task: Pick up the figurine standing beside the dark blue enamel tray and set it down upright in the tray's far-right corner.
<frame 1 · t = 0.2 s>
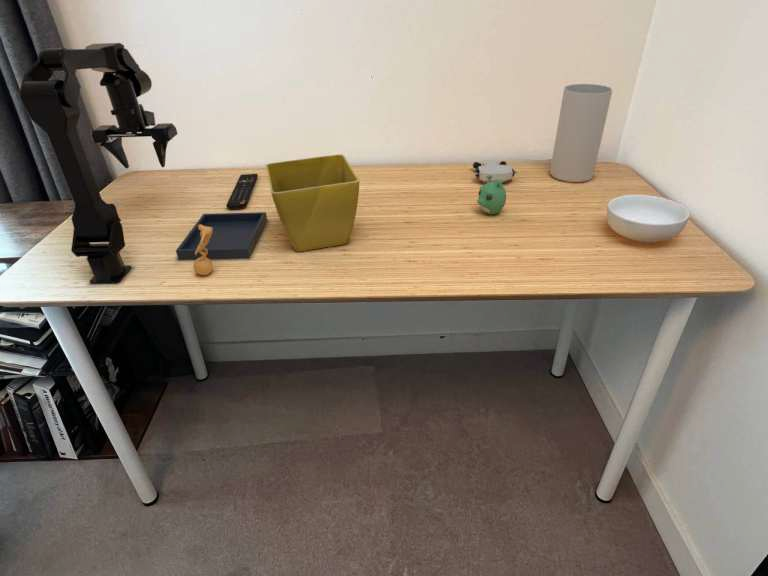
hand: (145, 167, 121), 15 cm above the table, tool pointing down, fingers open, 9 cm apart
tray: (226, 239, 118), on the table
remote control: (243, 193, 142), on the table
alien toy: (489, 214, 126), on the table
figurine: (210, 274, 105), on the table
flower pot: (318, 237, 118), on the table
robot toy: (491, 178, 146), on the table
cereal bowl: (639, 236, 113), on the table
cylinder vase: (570, 176, 146), on the table
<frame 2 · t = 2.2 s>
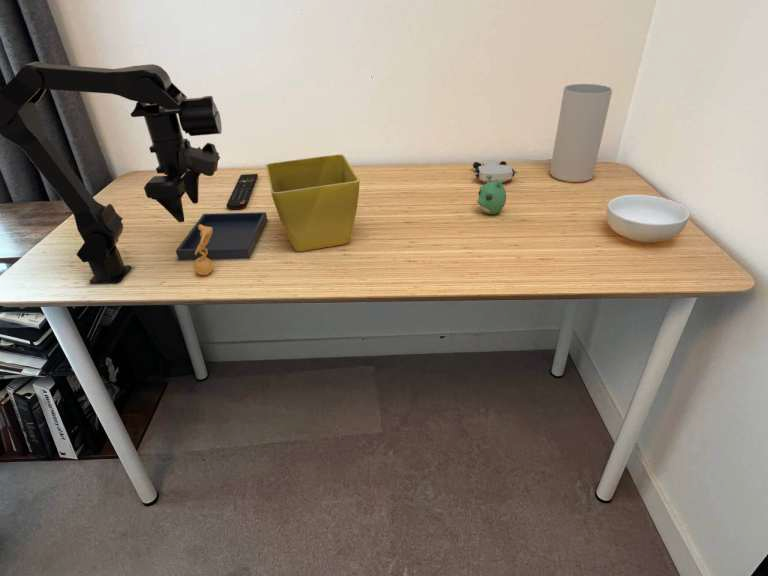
hand: (188, 212, 100), 13 cm above the table, tool pointing down, fingers open, 9 cm apart
nothing on the table moved.
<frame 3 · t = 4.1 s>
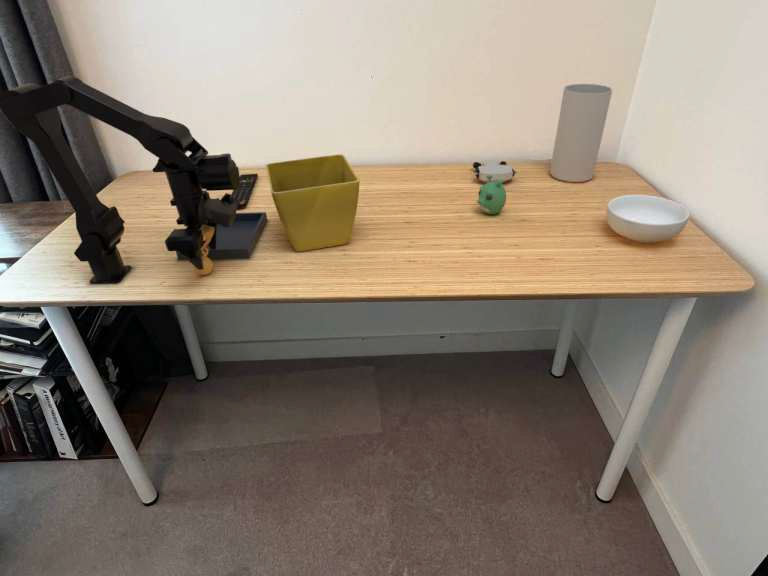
hand: (207, 258, 103), 4 cm above the table, tool pointing down, fingers closed on figurine, 8 cm apart
figurine: (210, 274, 105), on the table, touching gripper
everything else where it was.
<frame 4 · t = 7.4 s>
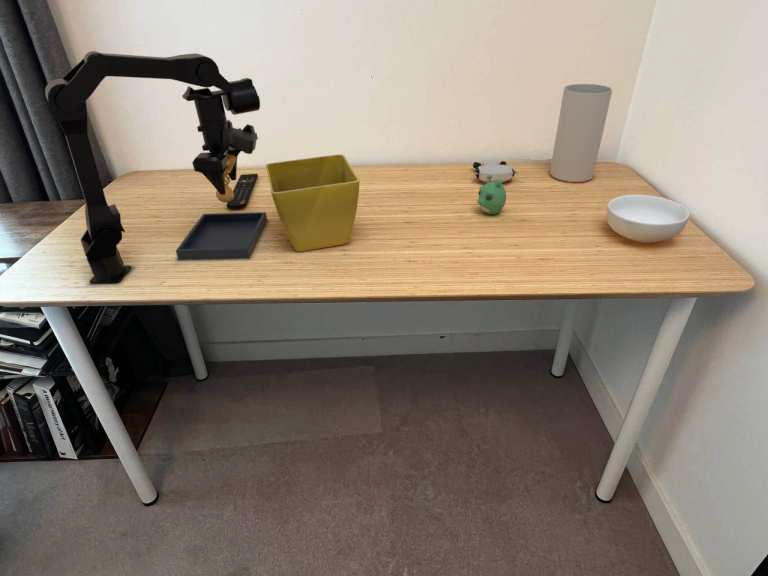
hand: (228, 187, 112), 13 cm above the table, tool pointing down, fingers closed on figurine, 8 cm apart
figurine: (230, 202, 114), point 9 cm above the table, touching gripper
everything else where it was.
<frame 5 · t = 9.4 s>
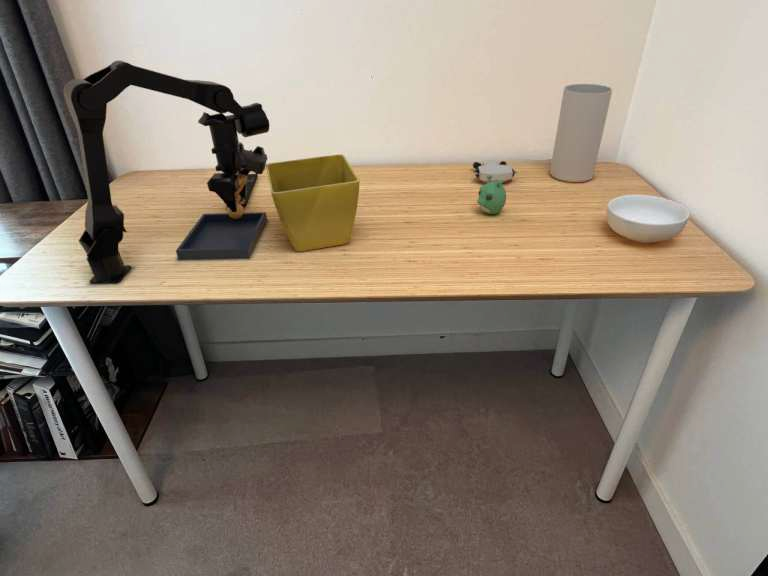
hand: (239, 204, 118), 7 cm above the table, tool pointing down, fingers closed on figurine, 8 cm apart
figurine: (240, 218, 121), point 3 cm above the table, touching gripper
everything else where it was.
when the fingers open (4 cm above the table, at t = 10.9 s): figurine stays where it is, resting on tray.
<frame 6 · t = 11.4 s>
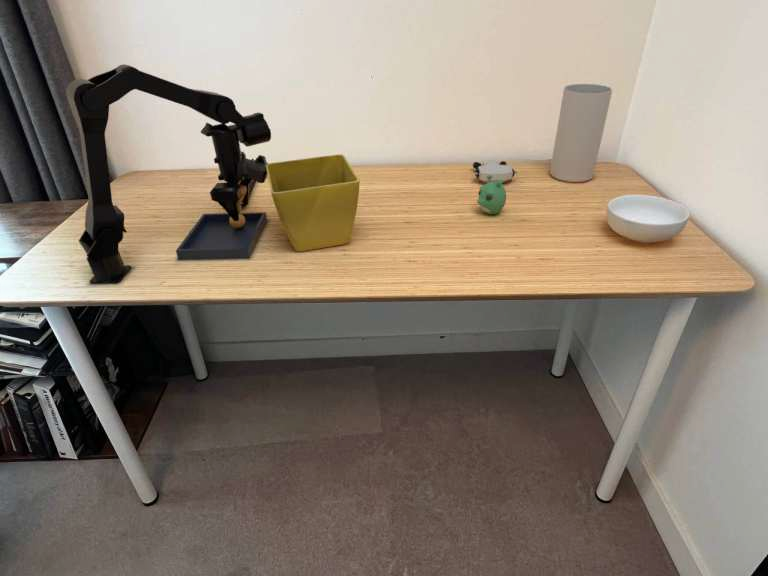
hand: (241, 212, 120), 5 cm above the table, tool pointing down, fingers open, 9 cm apart
figurine: (243, 228, 122), resting on tray
everything else where it was.
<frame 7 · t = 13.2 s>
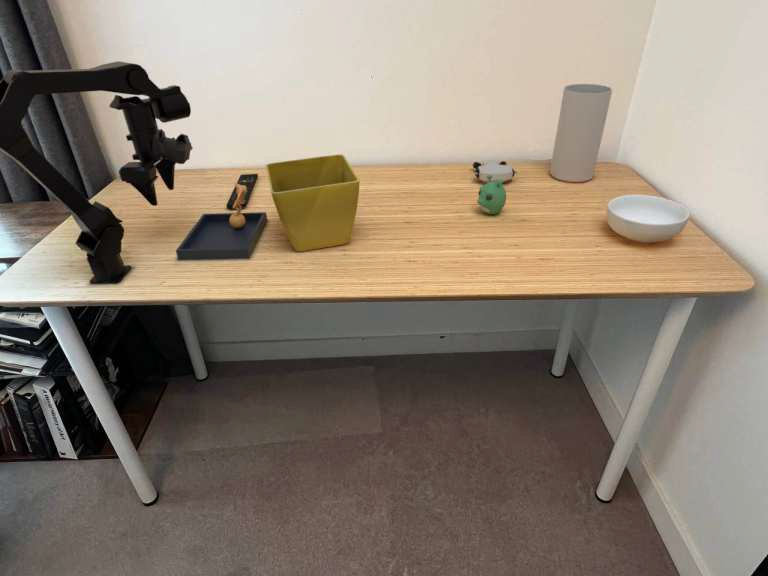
hand: (163, 197, 109), 13 cm above the table, tool pointing down, fingers open, 9 cm apart
nothing on the table moved.
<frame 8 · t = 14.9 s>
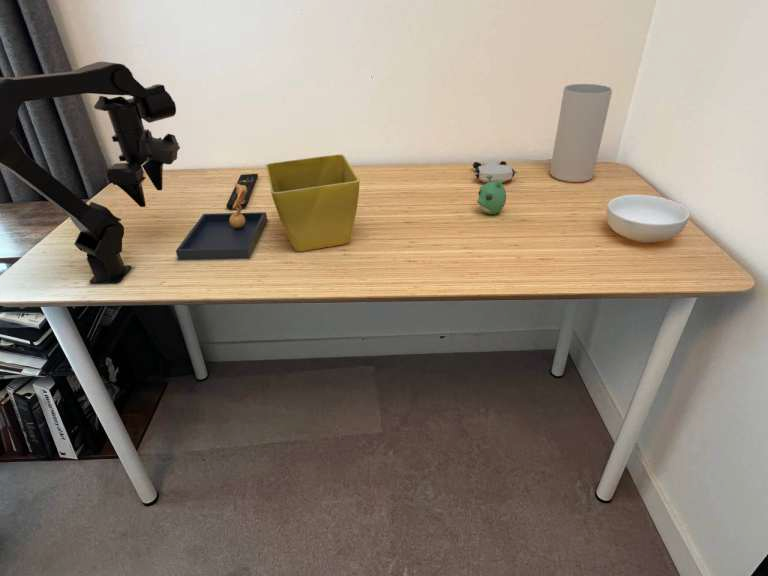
hand: (151, 198, 108), 13 cm above the table, tool pointing down, fingers open, 9 cm apart
nothing on the table moved.
at the end: figurine 1.2 cm from the target spot in the tray, point 0.3 cm above the tray's base; figurine tilted 0°; the gripper is holding nothing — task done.
